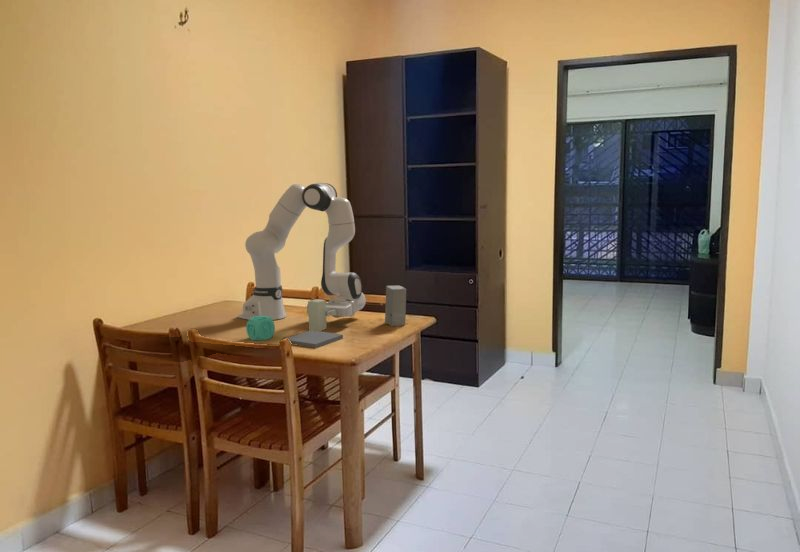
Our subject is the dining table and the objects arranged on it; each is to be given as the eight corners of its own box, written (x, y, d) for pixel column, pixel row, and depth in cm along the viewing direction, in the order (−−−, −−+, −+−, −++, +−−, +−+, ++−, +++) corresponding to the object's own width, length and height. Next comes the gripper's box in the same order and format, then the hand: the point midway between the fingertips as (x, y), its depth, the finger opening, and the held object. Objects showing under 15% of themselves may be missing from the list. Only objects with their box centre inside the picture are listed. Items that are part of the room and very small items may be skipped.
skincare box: (384, 322, 258) (383, 285, 256) (400, 321, 261) (399, 284, 259) (391, 327, 251) (390, 288, 248) (407, 325, 253) (406, 287, 251)
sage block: (309, 330, 248) (307, 301, 246) (317, 327, 252) (315, 299, 250) (318, 331, 245) (317, 302, 243) (326, 329, 249) (325, 300, 248)
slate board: (282, 343, 228) (282, 339, 228) (310, 333, 242) (310, 330, 241) (316, 348, 220) (315, 344, 220) (343, 338, 233) (342, 334, 233)
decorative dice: (264, 334, 242) (263, 314, 241) (275, 337, 237) (274, 317, 235) (246, 338, 237) (245, 318, 236) (257, 341, 231) (256, 321, 230)
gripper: (318, 297, 264) (297, 303, 252) (357, 301, 253) (336, 307, 242) (319, 311, 265) (298, 318, 253) (357, 316, 254) (337, 322, 243)
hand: (317, 312), depth 247 cm, fingers open, 8 cm apart
